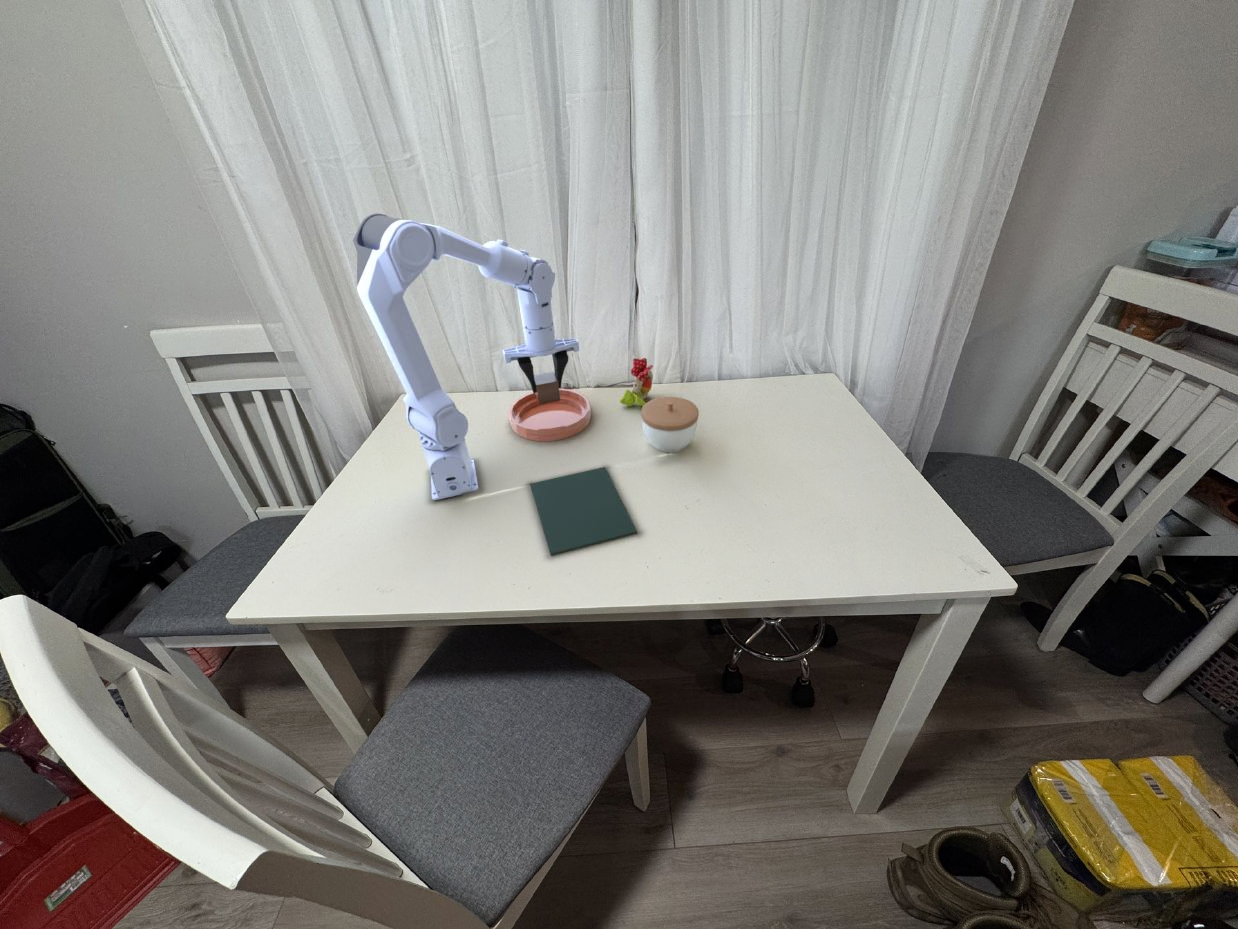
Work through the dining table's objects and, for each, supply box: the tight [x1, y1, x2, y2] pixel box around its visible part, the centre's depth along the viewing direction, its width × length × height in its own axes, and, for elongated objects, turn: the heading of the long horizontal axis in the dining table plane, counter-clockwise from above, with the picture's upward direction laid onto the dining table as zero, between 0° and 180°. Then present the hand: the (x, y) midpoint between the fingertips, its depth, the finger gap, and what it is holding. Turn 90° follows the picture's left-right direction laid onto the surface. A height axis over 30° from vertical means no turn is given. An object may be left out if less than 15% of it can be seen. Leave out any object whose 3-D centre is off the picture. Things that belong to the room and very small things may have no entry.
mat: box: [530, 466, 638, 556], centre depth 87 cm, size 18×14×1 cm
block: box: [534, 371, 560, 404], centre depth 105 cm, size 4×4×4 cm
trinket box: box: [640, 396, 699, 454], centre depth 98 cm, size 11×11×9 cm
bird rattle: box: [619, 357, 654, 408], centre depth 112 cm, size 6×11×9 cm
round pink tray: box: [508, 388, 592, 443], centre depth 109 cm, size 17×17×3 cm
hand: (546, 388), depth 105 cm, fingers closed on block, 4 cm apart
